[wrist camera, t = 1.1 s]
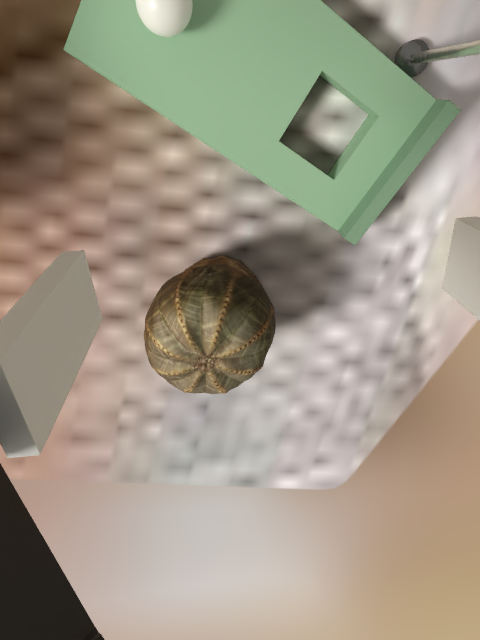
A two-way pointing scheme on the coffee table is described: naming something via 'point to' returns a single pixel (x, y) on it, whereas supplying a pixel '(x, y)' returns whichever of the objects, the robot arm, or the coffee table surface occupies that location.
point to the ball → (165, 15)
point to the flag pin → (430, 55)
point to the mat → (271, 94)
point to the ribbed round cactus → (210, 327)
